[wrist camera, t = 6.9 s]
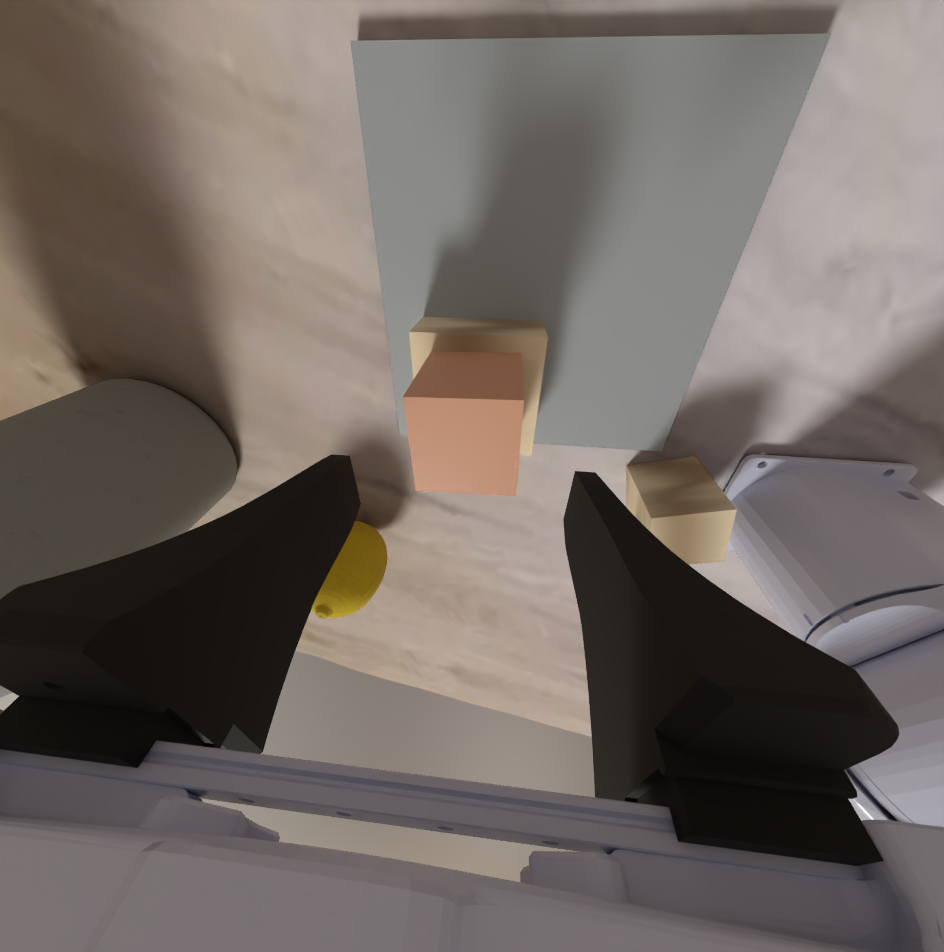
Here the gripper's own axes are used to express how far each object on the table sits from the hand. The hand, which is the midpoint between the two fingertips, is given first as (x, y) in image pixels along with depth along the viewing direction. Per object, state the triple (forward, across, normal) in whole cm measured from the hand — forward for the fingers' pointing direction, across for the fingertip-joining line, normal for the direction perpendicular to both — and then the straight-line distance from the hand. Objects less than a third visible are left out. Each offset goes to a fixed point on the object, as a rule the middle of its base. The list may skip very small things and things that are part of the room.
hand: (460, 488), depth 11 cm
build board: (+10, -3, -4) cm, 12 cm away
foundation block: (+10, 0, 0) cm, 10 cm away
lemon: (+11, +9, +13) cm, 19 cm away
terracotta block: (+7, 0, 0) cm, 7 cm away
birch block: (+10, -12, +7) cm, 17 cm away
